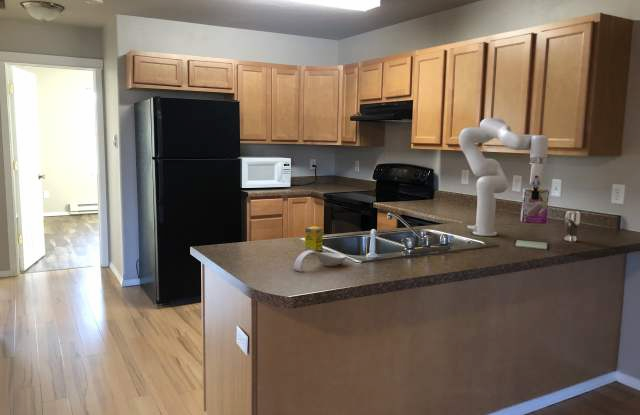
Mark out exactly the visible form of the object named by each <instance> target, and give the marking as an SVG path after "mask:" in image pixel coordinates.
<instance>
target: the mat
mask: <svg viewBox="0 0 640 415" xmlns="http://www.w3.org/2000/svg"><path fill="white" fill-rule="evenodd" d="M514 246H515V247H517V248H527V249H537V250H548V243H547V242H542V241H530V240H520V239H517V240H516V242H515V244H514Z"/></svg>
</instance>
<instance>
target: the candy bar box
mask: <svg viewBox="0 0 640 415" xmlns="http://www.w3.org/2000/svg"><path fill="white" fill-rule="evenodd" d="M532 190H533V188H523V189H522V199H521V200H522V201H521V209H520V210H521V211H520V222H521V223H526V224H542V225H544V224H545V225H546V224H547V218H548V217H547V216H548V206H549V197H550V190H549V189H543V188H539V199H538V200H534V199H531V196H532Z"/></svg>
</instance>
